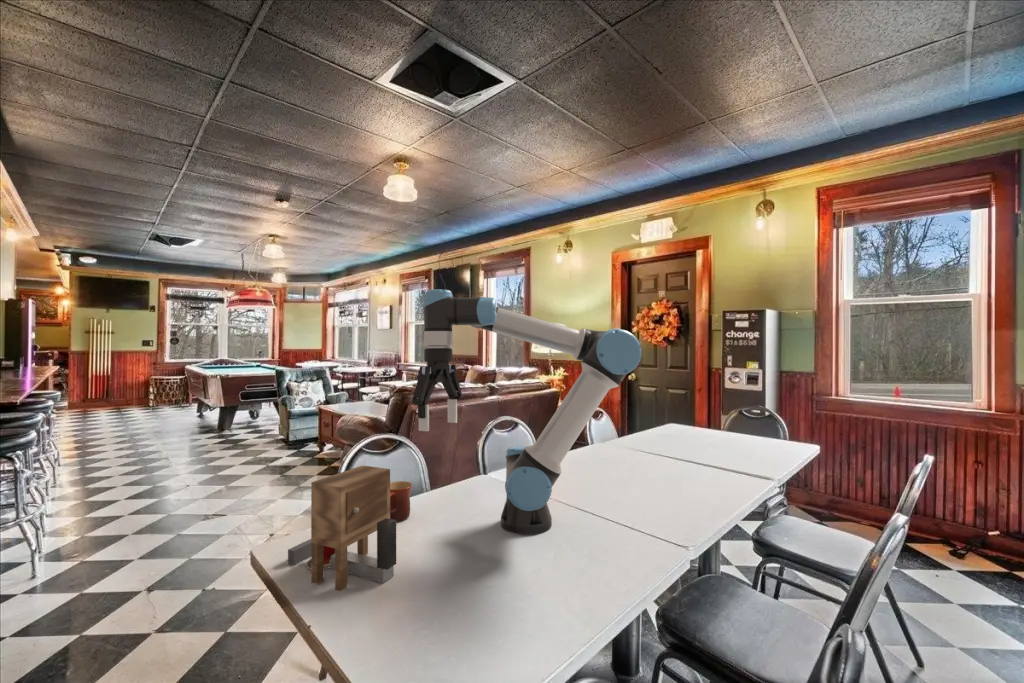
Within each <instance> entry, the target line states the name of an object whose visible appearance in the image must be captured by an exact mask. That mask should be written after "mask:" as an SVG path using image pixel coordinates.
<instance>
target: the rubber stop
mask: <svg viewBox="0 0 1024 683" xmlns="http://www.w3.org/2000/svg"><path fill="white" fill-rule="evenodd" d="M310 558H311V538H309V539H308V540H305V541H303V542H301V543H299V544H297V545H294V546H293V547H291V548H288V549H287V564H288V565H290V566H293V567H294V566H296V565H298V564H300V563H302V562H304V561H306V560H307V559H310Z"/></svg>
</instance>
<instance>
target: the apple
mask: <svg viewBox="0 0 1024 683" xmlns="http://www.w3.org/2000/svg"><path fill="white" fill-rule="evenodd" d="M333 554H335V548H332V547H328V546H324V570H326V569H331V555H333ZM305 564H306V568H308V569H310V570H311V558H309V560H308V561H306V563H305Z"/></svg>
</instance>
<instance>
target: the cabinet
mask: <svg viewBox="0 0 1024 683" xmlns="http://www.w3.org/2000/svg"><path fill="white" fill-rule="evenodd" d="M390 482H391V469H390V468H384V467H376V466H369V465H363V464H362V465H359V466H357V467H356V466H355V467H353V468H351V469H347V470H345V471H342V472H338V473H336V474H333V475H329V476H327V477H323V478H321V479H318V480H315V481H312V482H311V484H310V485H311V488H310V489H311V490H310V491H311V492H310V493H311V495H310V497H311V500H310V502H311V503H310V504H311V509H310V510H311V512H310V514H311V516H310V517H311V518H310V519H311V522H310V524H311V525H310V526H311V527H310V528H311V529H310V532H311V533H310V534H311V536H310V539H311V557H310V559H311V569H310V572H311V573H310V574H311V576H310V578H311V579H310V582H311V584H314V585H319V584H320V583H322V582H324V580H325V579H324V570H325V569H324V546H328V547H332V548H335V570H334V590H336V591H338V592H343V591H344V590H347V589H348V573H347V551H348V547H349V546H351V545H352V544H354V543H357V545H356V546H357V553H356V554H361V555H365V556H368V555H369V535H371V534H373V533H375V532H377V522H379V521H381V520H383V519H385V518H388V519H390Z"/></svg>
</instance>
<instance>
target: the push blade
mask: <svg viewBox="0 0 1024 683" xmlns="http://www.w3.org/2000/svg"><path fill="white" fill-rule="evenodd" d="M396 565H397V522H396V520H393V519H388V518H385V519H383V520H381V521H379V522H377V531H376V557H372V556H368V555H366V556H365V555H361V554H357V553H356V552H351V551H348V550H347V574H349V575H353V576H357V577H360V578H364V579H367V580H372V581H373V582H374V581H375V582H379V583H383V584H384V583H386V582H387V581H388V580H389V579H391V578H392V577H393V576H395V575H394V572H395V570H394V569H395V568H394V566H396ZM330 569H331V570H334V571H335V554H333V555H331V567H330Z"/></svg>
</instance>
